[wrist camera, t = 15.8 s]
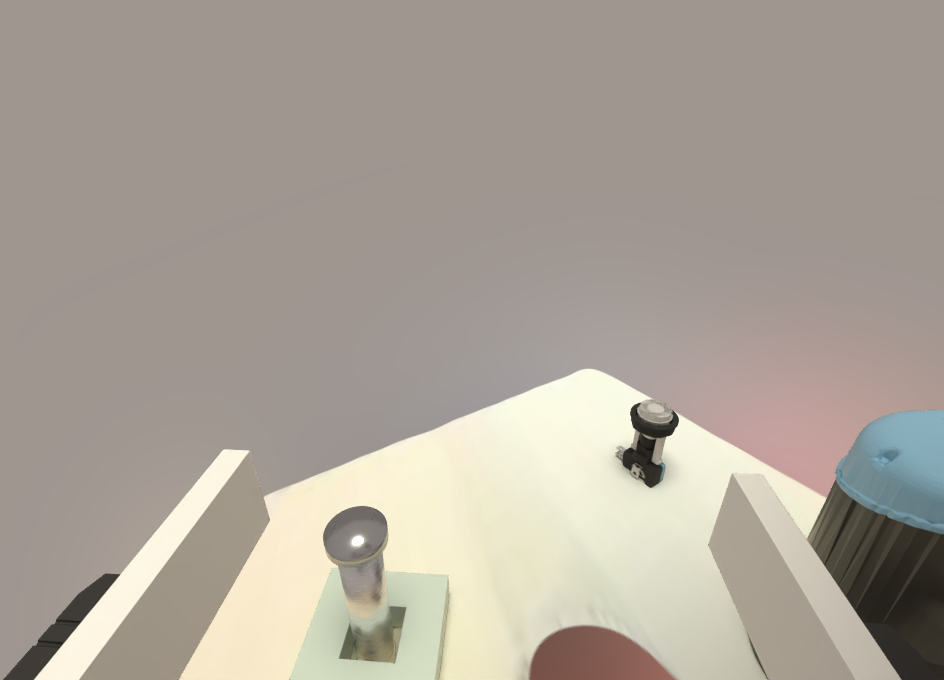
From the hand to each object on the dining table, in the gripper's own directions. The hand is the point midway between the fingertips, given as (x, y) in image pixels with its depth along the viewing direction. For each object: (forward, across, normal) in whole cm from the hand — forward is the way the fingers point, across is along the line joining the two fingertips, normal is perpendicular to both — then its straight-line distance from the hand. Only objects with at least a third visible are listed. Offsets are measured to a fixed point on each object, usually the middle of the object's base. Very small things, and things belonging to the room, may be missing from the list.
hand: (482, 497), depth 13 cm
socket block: (+13, -10, -32) cm, 36 cm away
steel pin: (+13, -10, -32) cm, 36 cm away
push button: (+37, +18, -32) cm, 52 cm away
